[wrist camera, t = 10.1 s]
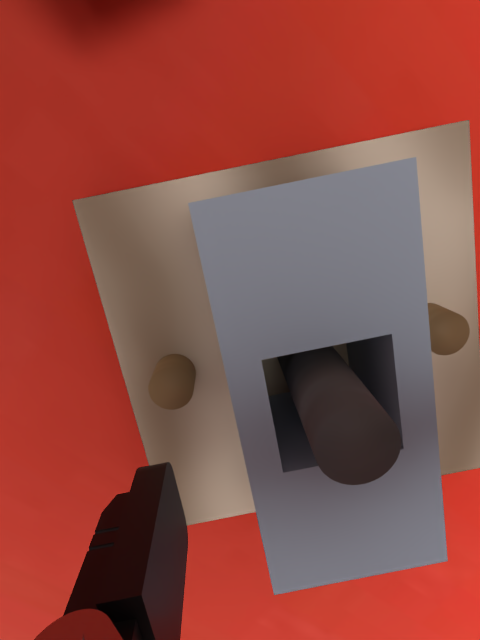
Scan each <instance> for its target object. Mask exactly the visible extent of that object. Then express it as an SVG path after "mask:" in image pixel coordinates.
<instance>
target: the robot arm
mask: <svg viewBox="0 0 480 640" xmlns="http://www.w3.org/2000/svg"><path fill="white" fill-rule="evenodd" d="M187 549H188V533H187V524H186V518H185V514H184V510H183V506H182V502H181V498H180V495H179V491H178V487H177V483H176V479H175V475H174V471H173V468H172V465H171V464H170V462H165V463H160V464H155V465H150V466H145V467H140V468H138V469H137V470H136V473H135V476H134V480H133V483H132V486H131V490H130V492H128V493H123V494H117V495H116V496H115V498H114V499H113V500H112V501H111V502H110V504H109V505H108V506H107V507H106V508H105V509H104V511H103V512H102V514H101V517H100V519H99V522H98V525H97V527H96V530H95V535H93V538H92V541H91V543H90V546H89V551H87V554H86V556H85V559H84V562H83V564H82V567H81V570H80V572H79V575H78V578H77V580H76V583H75V586H74V588H73V591H72V594H71V596H70V599H69V602H68V604H67V607H66V610H65V612H64V615H63V616H62V617H60V618H59V619H57V620H56V621H54V622H53V623H51V624H50V625H49V626H48V627H46V628H45V629H44V630H43V631H42V632H41V633H40V634H39V635H38V636H37V637H36V638H35V639H34V640H180V634H181V622H182V610H183V598H184V585H185V573H186V561H187Z"/></svg>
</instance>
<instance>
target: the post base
mask: <svg viewBox="0 0 480 640" xmlns="http://www.w3.org/2000/svg"><path fill="white" fill-rule="evenodd" d="M413 157H416V161H417V174H418V187H419V200H420V213H421V225H422V238H423V251H424V264H425V277H426V290H427V303H428V315H429V328H430V341H431V354H432V367H433V380H434V393H435V405H436V418H437V431H438V444H439V457H440V470H441V475H446V474H451V473H456V472H461V471H466V470H471V469H476V468H480V349H479V327H478V305H477V283H476V260H475V238H474V216H473V194H472V172H471V150H470V127H469V120H466V121H461V122H456V123H451V124H446V125H441V126H437V127H432V128H427V129H422V130H417V131H412V132H407V133H402V134H397V135H392V136H387V137H382V138H378V139H373V140H368V141H363V142H358V143H353V144H348V145H343V146H338V147H333V148H328V149H323V150H318V151H314V152H309V153H304V154H299V155H294V156H289V157H284V158H279V159H274V160H269V161H264V162H259V163H254V164H250V165H245V166H240V167H235V168H230V169H225V170H220V171H215V172H210V173H205V174H200V175H195V176H190V177H186V178H181V179H176V180H171V181H166V182H161V183H156V184H151V185H146V186H141V187H136V188H131V189H126V190H122V191H117V192H112V193H107V194H102V195H97V196H92V197H87V198H82V199H77V200H72V201H73V205H74V208H75V212H76V215H77V219H78V222H79V225H80V229H81V232H82V236H83V239H84V243H85V246H86V250H87V253H88V256H89V260H90V263H91V267H92V270H93V274H94V277H95V281H96V284H97V287H98V291H99V294H100V298H101V301H102V305H103V308H104V312H105V315H106V318H107V322H108V325H109V329H110V332H111V336H112V339H113V343H114V346H115V349H116V353H117V356H118V360H119V363H120V367H121V370H122V374H123V377H124V380H125V384H126V387H127V391H128V394H129V398H130V401H131V405H132V408H133V411H134V415H135V418H136V422H137V425H138V429H139V432H140V436H141V439H142V442H143V446H144V449H145V453H146V456H147V460H148V463H149V466H150V465H155V464H160V463H165V462H170V464H171V465H172V468H173V471H174V475H175V479H176V483H177V487H178V491H179V495H180V498H181V502H182V506H183V510H184V514H185V518H186V524H187V525H192V524H197V523H202V522H207V521H212V520H217V519H222V518H227V517H232V516H237V515H242V514H248V513H253V512H256V510H255V505H254V501H253V496H252V492H251V487H250V483H249V478H248V474H247V469H246V464H245V460H244V455H243V451H242V446H241V442H240V437H239V433H238V428H237V424H236V419H235V414H234V410H233V405H232V401H231V396H230V392H229V387H228V383H227V378H226V374H225V369H224V364H223V360H222V355H221V351H220V346H219V342H218V337H217V333H216V328H215V323H214V319H213V314H212V310H211V305H210V301H209V296H208V292H207V287H206V283H205V278H204V273H203V269H202V264H201V260H200V255H199V251H198V246H197V242H196V237H195V233H194V228H193V223H192V219H191V214H190V210H189V205H188V203H191V202H196V201H201V200H206V199H211V198H216V197H221V196H226V195H231V194H236V193H240V192H245V191H250V190H255V189H260V188H265V187H270V186H275V185H280V184H285V183H290V182H295V181H300V180H305V179H309V178H314V177H319V176H324V175H329V174H334V173H339V172H344V171H349V170H354V169H359V168H364V167H369V166H374V165H379V164H383V163H388V162H393V161H398V160H403V159H408V158H413ZM261 361H262V366H263V371H264V376H265V381H266V387H267V392H268V396H272V395H277V394H282V393H287V392H290V393H291V396H292V398H293V401H294V403H295V406H296V409H297V411H298V414H299V417H300V419H301V422H302V425H303V427H304V430H305V433H306V435H307V438H308V440H309V443H310V446H311V448H312V451H313V454H314V456H315V459H316V462H317V464H318V466H319V468H320V469H321V470H322V472H323V473H324V474H325V475H326V476H327V477H329V478H330V479H332V480H334V481H336V482H339V483H341V484H346V485H360V484H366V483H369V482H372V481H374V480H376V479H378V478H380V477H381V476H383V475H384V474H385V473H387V472H388V471H389V470H390V469H391V468H392V466H393V465H394V464H395V462H396V460H397V458H398V456H399V453H400V449H401V436H400V432H399V429H398V427H397V425H396V424H395V422H394V421H393V420H392V418H391V417H390V416H389V415H388V413H387V412H386V411H385V410H384V409H383V407H382V406H381V405H380V404H379V402H378V401H377V400H376V399H375V397H374V396H373V395H372V394H371V393H370V391H369V390H368V389H367V388H366V386H365V385H364V384H363V383H362V381H361V380H360V379H359V378H358V377H357V375H356V374H355V373H354V372H353V370H352V369H351V368H350V367H349V361H348V354H347V346H346V343H344V344H339V345H334V346H329V347H324V348H319V349H314V350H309V351H304V352H299V353H294V354H289V355H284V356H279V357H274V358H269V359H264V360H261Z"/></svg>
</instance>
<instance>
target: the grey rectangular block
mask: <svg viewBox="0 0 480 640" xmlns="http://www.w3.org/2000/svg"><path fill="white" fill-rule="evenodd" d="M188 205H189V210H190V214H191V219H192V223H193V228H194V233H195V237H196V242H197V246H198V251H199V255H200V260H201V264H202V269H203V273H204V278H205V283H206V287H207V292H208V296H209V301H210V305H211V310H212V314H213V319H214V323H215V328H216V333H217V337H218V342H219V346H220V351H221V355H222V360H223V364H224V369H225V374H226V378H227V383H228V387H229V392H230V396H231V401H232V405H233V410H234V414H235V419H236V424H237V428H238V433H239V437H240V442H241V446H242V451H243V455H244V460H245V464H246V469H247V474H248V478H249V483H250V487H251V492H252V496H253V501H254V505H255V510H256V514H257V519H258V524H259V528H260V533H261V537H262V542H263V546H264V551H265V555H266V560H267V564H268V569H269V574H270V578H271V583H272V587H273V592H274V595H276V594H282V593H287V592H292V591H297V590H302V589H307V588H312V587H317V586H322V585H328V584H333V583H338V582H343V581H348V580H353V579H358V578H363V577H369V576H374V575H379V574H384V573H389V572H394V571H399V570H404V569H409V568H415V567H420V566H425V565H430V564H435V563H440V562H445V561H448V560H447V547H446V534H445V521H444V508H443V495H442V483H441V470H440V457H439V444H438V431H437V418H436V405H435V393H434V380H433V367H432V354H431V341H430V328H429V315H428V303H427V290H426V277H425V264H424V251H423V238H422V225H421V213H420V200H419V187H418V174H417V161H416V157H413V158H408V159H403V160H398V161H393V162H388V163H383V164H379V165H374V166H369V167H364V168H359V169H354V170H349V171H344V172H339V173H334V174H329V175H324V176H319V177H314V178H309V179H305V180H300V181H295V182H290V183H285V184H280V185H275V186H270V187H265V188H260V189H255V190H250V191H245V192H240V193H236V194H231V195H226V196H221V197H216V198H211V199H206V200H201V201H196V202H191V203H188ZM344 343H346V346H347V354H348V361H349V367H350V368H351V369H352V370H353V372H354V373H355V374H356V375H357V377H358V378H359V379H360V380H361V381H362V383H363V384H364V385H365V386H366V388H367V389H368V390H369V391H370V393H371V394H372V395H373V396H374V397H375V399H376V400H377V401H378V402H379V404H380V405H381V406H382V407H383V409H384V410H385V411H386V412H387V413H388V415H389V416H390V417H391V418H392V420H393V421H394V422H395V424H396V425H397V427H398V429H399V432H400V436H401V449H400V453H399V456H398V458H397V460H396V462H395V464H394V465H393V466H392V468H391V469H390V470H389V471H388V472H387V473H385V474H384V475H383V476H381V477H380V478H378V479H376V480H374V481H372V482H369V483H366V484H360V485H346V484H341V483H339V482H336V481H334V480H332V479H330V478H329V477H327V476H326V475H325V474H324V473H323V472H322V470H321V469H320V468H319V466H318V464H317V462H316V459H315V456H314V454H313V451H312V448H311V446H310V443H309V440H308V438H307V435H306V433H305V430H304V427H303V425H302V422H301V419H300V417H299V414H298V411H297V409H296V406H295V403H294V401H293V398H292V396H291V393H290V392H287V393H282V394H277V395H272V396H268V392H267V387H266V381H265V376H264V371H263V366H262V361H261V360H264V359H269V358H274V357H279V356H284V355H289V354H294V353H299V352H304V351H309V350H314V349H319V348H324V347H329V346H334V345H339V344H344Z"/></svg>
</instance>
